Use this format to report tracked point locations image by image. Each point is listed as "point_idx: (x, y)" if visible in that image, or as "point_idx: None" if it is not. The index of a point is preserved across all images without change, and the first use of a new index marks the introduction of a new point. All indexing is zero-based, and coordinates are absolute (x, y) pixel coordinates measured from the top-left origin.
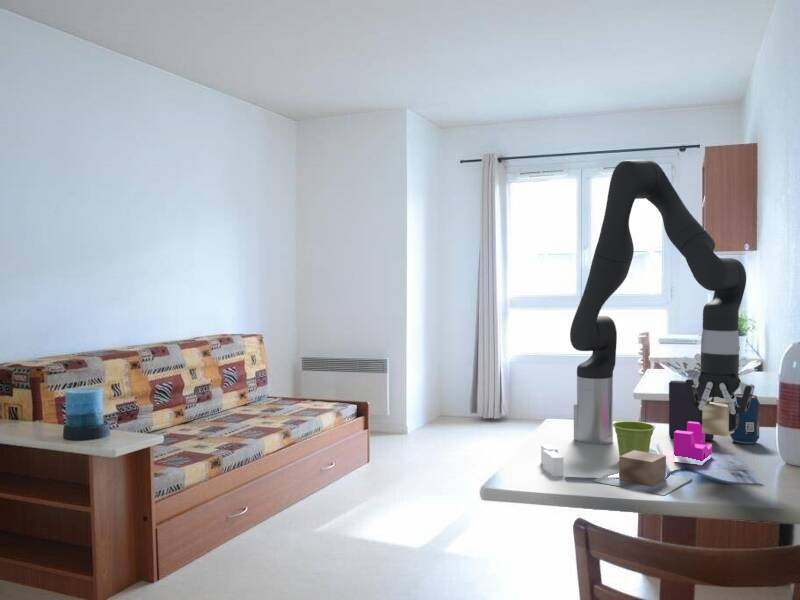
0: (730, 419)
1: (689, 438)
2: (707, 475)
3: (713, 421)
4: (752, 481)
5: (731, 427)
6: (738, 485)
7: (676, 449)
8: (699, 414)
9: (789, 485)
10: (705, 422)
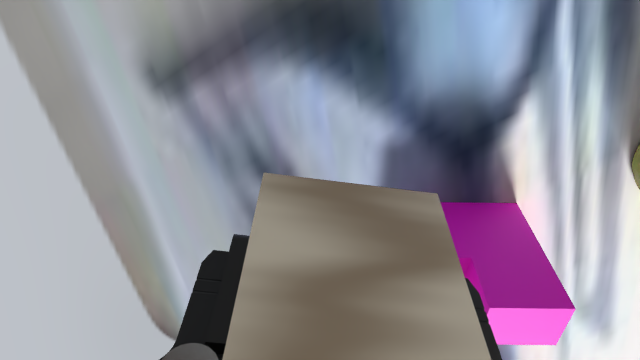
0: (228, 303)
1: (489, 289)
2: (374, 103)
3: (364, 255)
4: (195, 109)
5: (231, 250)
6: (223, 11)
7: (528, 244)
8: (493, 344)
9: (66, 126)
10: (429, 248)
